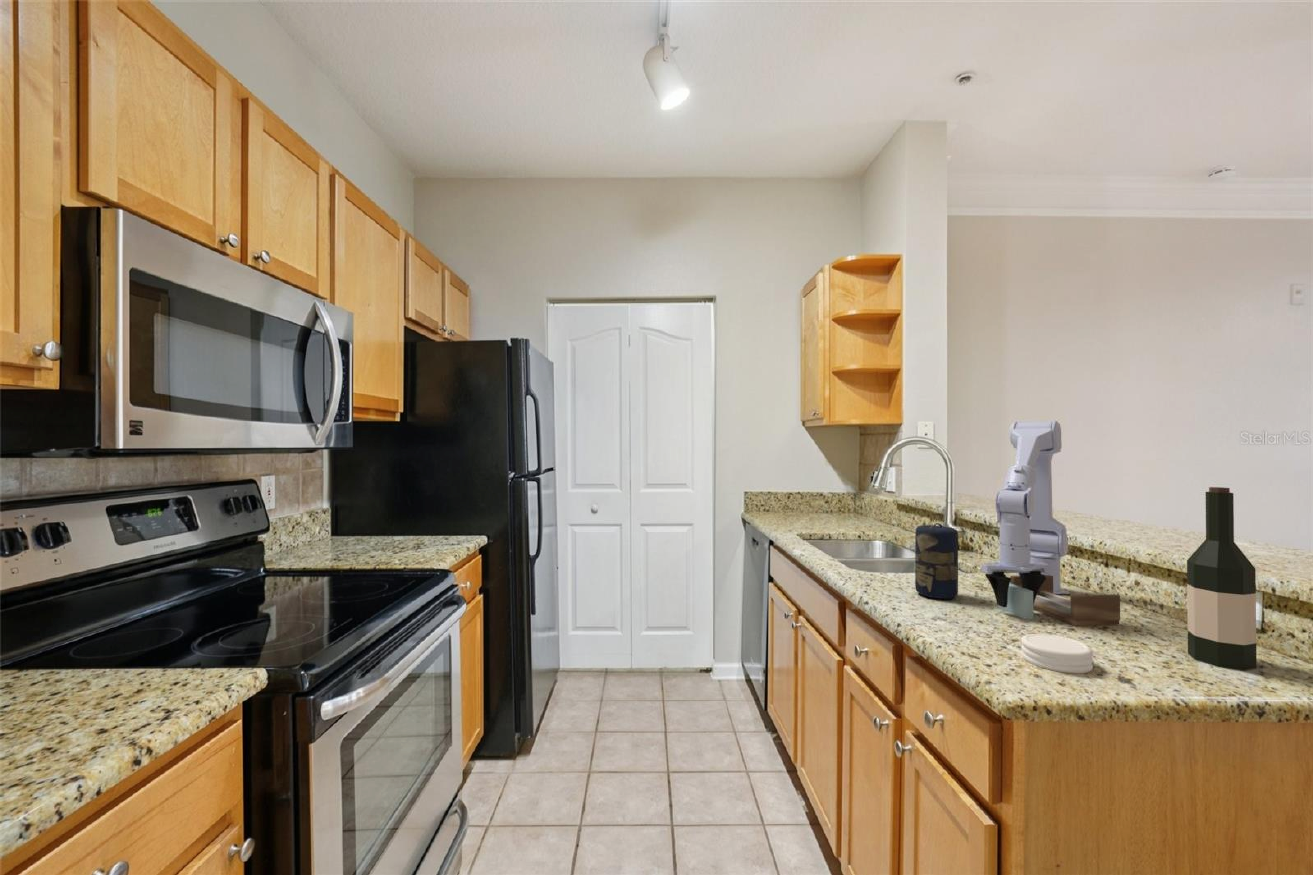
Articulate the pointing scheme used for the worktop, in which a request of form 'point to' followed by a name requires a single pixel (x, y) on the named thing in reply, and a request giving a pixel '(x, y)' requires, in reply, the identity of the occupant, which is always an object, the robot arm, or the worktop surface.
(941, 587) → the canister
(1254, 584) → the wine bottle
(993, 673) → the worktop surface
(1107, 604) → the track base
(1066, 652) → the coaster
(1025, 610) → the door panel
